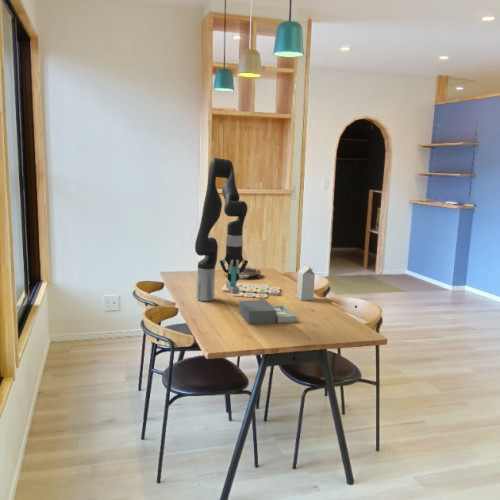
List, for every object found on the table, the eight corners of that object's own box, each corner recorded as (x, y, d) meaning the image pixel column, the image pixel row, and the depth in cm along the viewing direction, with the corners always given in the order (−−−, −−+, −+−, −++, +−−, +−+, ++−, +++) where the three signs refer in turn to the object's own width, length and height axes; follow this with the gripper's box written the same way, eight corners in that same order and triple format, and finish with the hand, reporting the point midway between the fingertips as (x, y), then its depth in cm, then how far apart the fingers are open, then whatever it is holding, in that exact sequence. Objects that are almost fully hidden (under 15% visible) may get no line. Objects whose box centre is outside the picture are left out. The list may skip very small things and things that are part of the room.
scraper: (232, 294, 223) (233, 269, 221) (225, 286, 236) (226, 263, 234) (239, 293, 224) (240, 269, 222) (231, 286, 237) (232, 262, 235)
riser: (248, 324, 225) (249, 311, 224) (239, 312, 242) (239, 300, 241) (275, 323, 228) (276, 310, 227) (264, 311, 245) (264, 300, 244)
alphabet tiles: (280, 286, 301) (281, 283, 301) (278, 300, 269) (279, 296, 269) (227, 283, 304) (227, 279, 304) (218, 296, 272) (218, 292, 272)
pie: (274, 278, 324) (274, 270, 323) (244, 284, 305) (244, 276, 304) (244, 270, 343) (244, 263, 343) (214, 275, 324) (215, 268, 323)
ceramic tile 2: (281, 310, 239) (281, 314, 239) (279, 308, 243) (279, 312, 243) (274, 310, 238) (273, 314, 238) (271, 308, 242) (271, 312, 242)
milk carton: (301, 300, 269) (303, 266, 266) (296, 297, 276) (298, 264, 273) (313, 300, 271) (315, 266, 268) (308, 297, 278) (310, 264, 274)
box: (277, 322, 228) (278, 316, 228) (266, 311, 246) (266, 305, 245) (295, 322, 231) (296, 316, 230) (283, 311, 248) (283, 305, 248)
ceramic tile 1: (286, 314, 233) (286, 318, 234) (284, 311, 237) (283, 315, 237) (278, 314, 232) (278, 318, 233) (276, 312, 236) (276, 316, 236)
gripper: (246, 243, 231) (245, 279, 234) (217, 243, 228) (216, 279, 230) (251, 245, 224) (249, 282, 227) (221, 245, 220) (219, 283, 223)
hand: (232, 281), depth 229 cm, fingers closed on scraper, 2 cm apart
